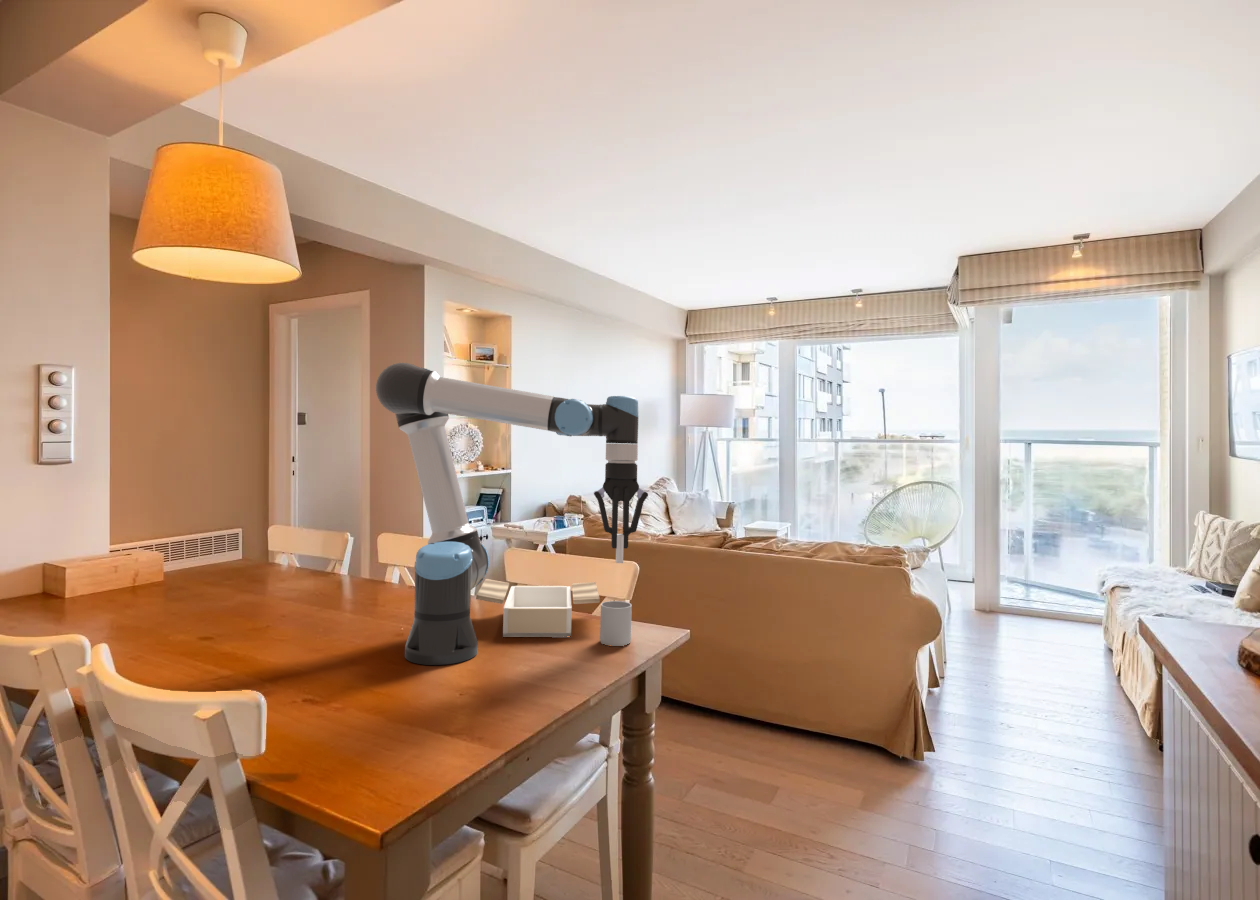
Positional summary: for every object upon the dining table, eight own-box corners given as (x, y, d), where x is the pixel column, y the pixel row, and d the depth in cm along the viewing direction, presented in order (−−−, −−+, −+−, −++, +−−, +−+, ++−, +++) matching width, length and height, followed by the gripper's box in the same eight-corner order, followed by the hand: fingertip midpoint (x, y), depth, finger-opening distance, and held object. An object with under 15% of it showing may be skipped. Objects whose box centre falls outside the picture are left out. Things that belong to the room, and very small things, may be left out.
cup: (594, 644, 153) (595, 605, 152) (613, 633, 162) (614, 597, 162) (622, 649, 149) (623, 609, 149) (640, 637, 159) (641, 600, 158)
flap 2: (573, 600, 160) (573, 604, 160) (599, 598, 160) (599, 602, 161) (571, 583, 179) (572, 587, 179) (595, 582, 179) (595, 585, 179)
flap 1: (476, 594, 157) (475, 599, 157) (503, 599, 158) (502, 603, 158) (485, 578, 176) (485, 582, 176) (509, 583, 177) (508, 586, 177)
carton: (571, 638, 157) (571, 608, 157) (502, 638, 155) (503, 608, 155) (569, 611, 182) (570, 585, 182) (510, 611, 180) (511, 585, 180)
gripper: (646, 462, 160) (644, 559, 160) (592, 461, 158) (590, 559, 159) (651, 463, 152) (649, 565, 152) (594, 462, 151) (592, 565, 151)
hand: (619, 562), depth 156 cm, fingers closed
